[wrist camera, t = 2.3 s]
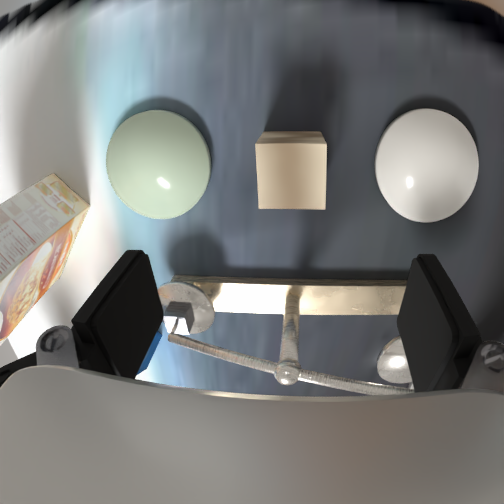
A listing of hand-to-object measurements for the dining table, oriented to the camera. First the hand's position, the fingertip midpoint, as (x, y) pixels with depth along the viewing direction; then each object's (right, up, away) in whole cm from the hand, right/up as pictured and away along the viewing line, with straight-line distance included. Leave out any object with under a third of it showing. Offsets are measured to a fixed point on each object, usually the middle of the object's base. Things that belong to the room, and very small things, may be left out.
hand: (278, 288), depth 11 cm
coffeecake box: (-27, +4, +25) cm, 36 cm away
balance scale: (+4, -3, +24) cm, 25 cm away
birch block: (+3, +10, +17) cm, 19 cm away
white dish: (+16, +9, +15) cm, 23 cm away
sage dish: (-10, +10, +18) cm, 23 cm away
